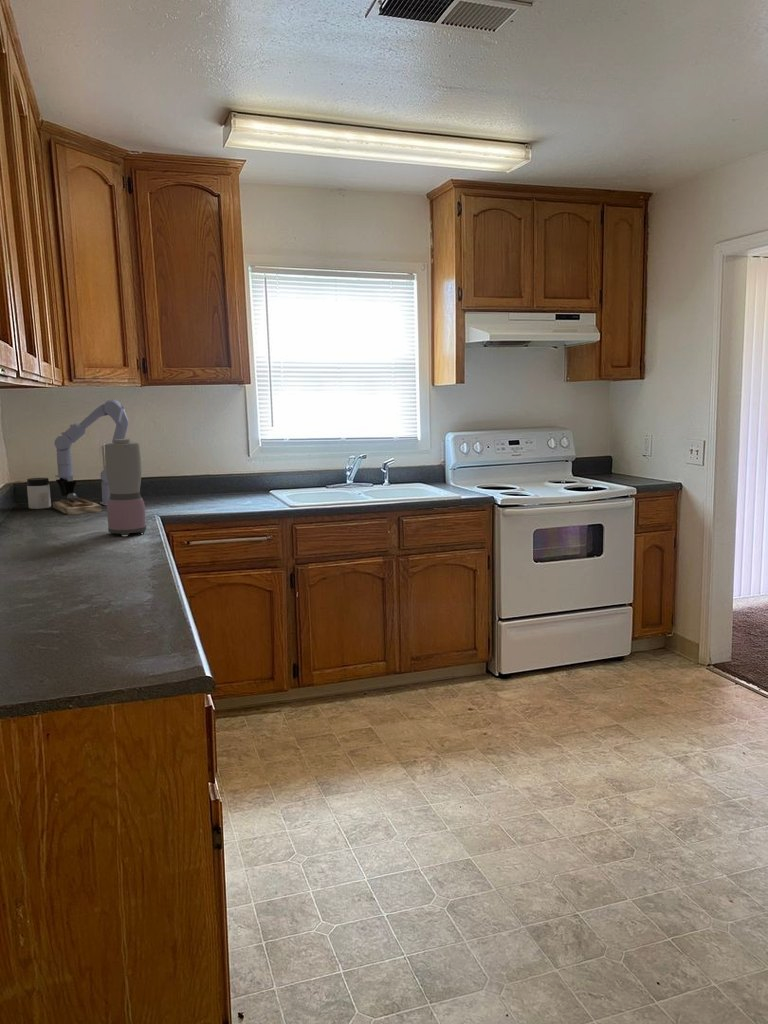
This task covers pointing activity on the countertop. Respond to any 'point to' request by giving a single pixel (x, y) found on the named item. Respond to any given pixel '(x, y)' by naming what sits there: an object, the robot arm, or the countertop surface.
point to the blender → (124, 487)
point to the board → (77, 506)
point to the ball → (72, 497)
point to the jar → (38, 493)
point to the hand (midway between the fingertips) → (67, 496)
